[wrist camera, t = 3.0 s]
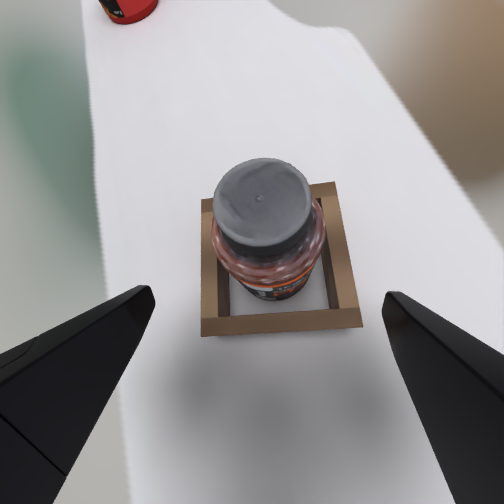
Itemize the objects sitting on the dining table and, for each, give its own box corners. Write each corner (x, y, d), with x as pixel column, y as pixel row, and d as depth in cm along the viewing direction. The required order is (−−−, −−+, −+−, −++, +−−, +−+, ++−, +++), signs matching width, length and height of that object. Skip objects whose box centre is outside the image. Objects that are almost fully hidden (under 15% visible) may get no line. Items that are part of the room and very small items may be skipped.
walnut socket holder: (349, 326, 17) (363, 327, 14) (216, 334, 19) (200, 336, 15) (327, 204, 21) (334, 181, 17) (214, 218, 22) (201, 199, 19)
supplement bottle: (282, 317, 18) (276, 309, 8) (226, 274, 20) (156, 219, 9) (324, 257, 19) (369, 176, 9) (266, 221, 21) (245, 116, 10)
